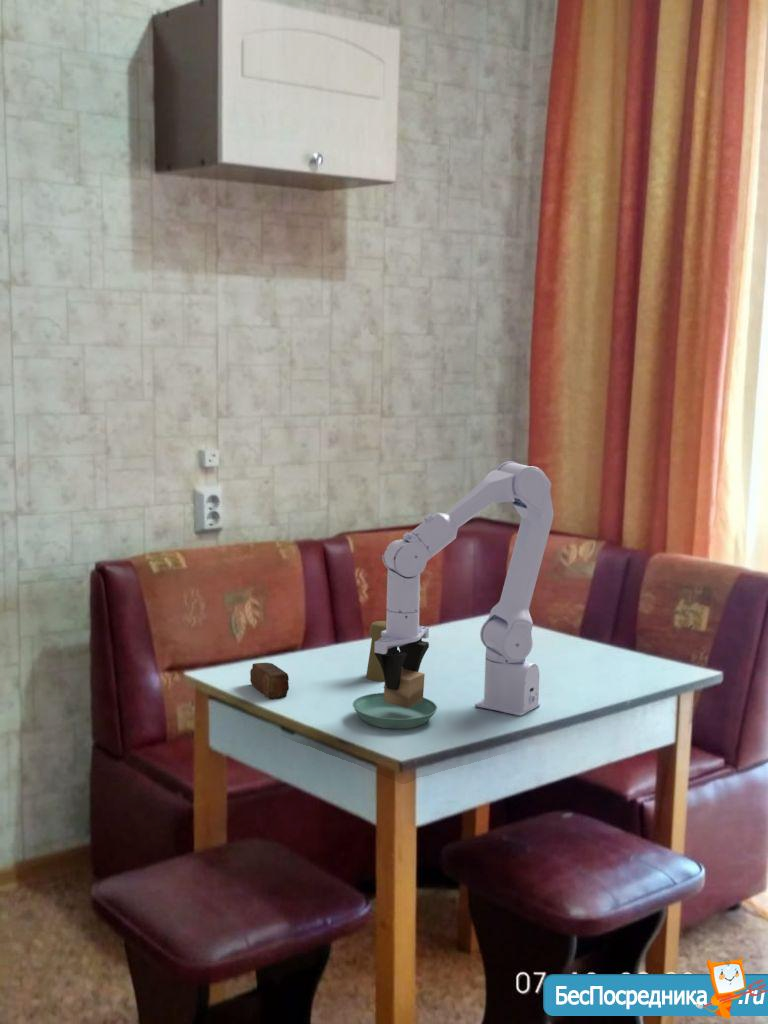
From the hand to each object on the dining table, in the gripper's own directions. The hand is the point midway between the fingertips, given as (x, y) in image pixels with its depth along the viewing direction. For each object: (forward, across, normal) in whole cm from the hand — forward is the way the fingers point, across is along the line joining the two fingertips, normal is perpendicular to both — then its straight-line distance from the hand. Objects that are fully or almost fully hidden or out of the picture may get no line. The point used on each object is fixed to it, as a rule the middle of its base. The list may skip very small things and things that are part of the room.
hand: (401, 685), depth 208 cm
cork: (+6, -18, -16) cm, 25 cm away
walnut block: (+3, 0, 0) cm, 3 cm away
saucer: (+6, +2, 0) cm, 6 cm away
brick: (+6, +2, -28) cm, 28 cm away
